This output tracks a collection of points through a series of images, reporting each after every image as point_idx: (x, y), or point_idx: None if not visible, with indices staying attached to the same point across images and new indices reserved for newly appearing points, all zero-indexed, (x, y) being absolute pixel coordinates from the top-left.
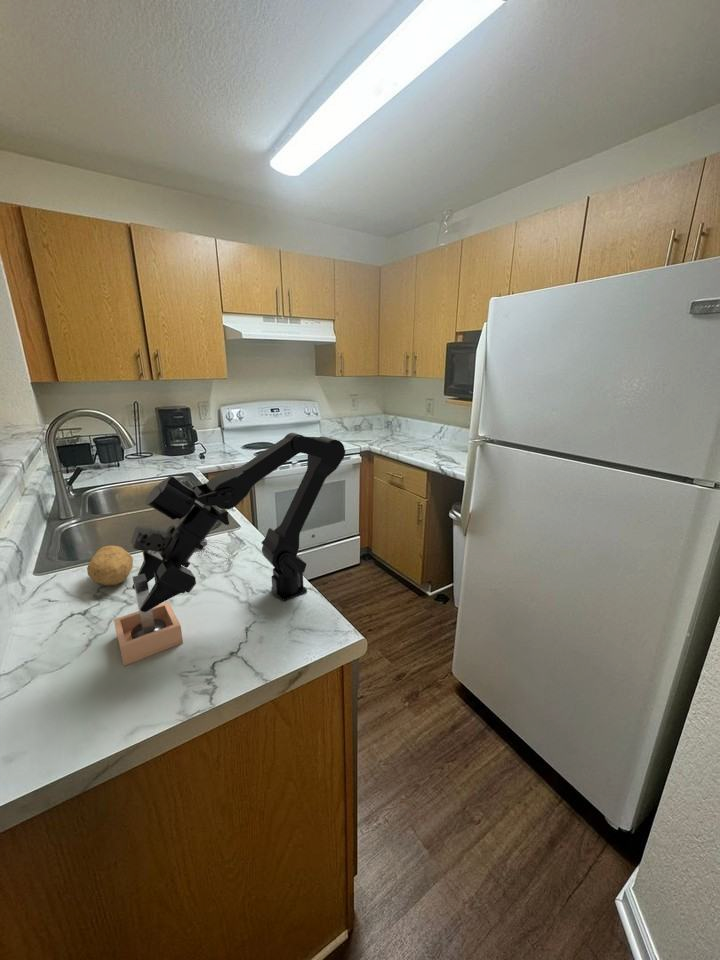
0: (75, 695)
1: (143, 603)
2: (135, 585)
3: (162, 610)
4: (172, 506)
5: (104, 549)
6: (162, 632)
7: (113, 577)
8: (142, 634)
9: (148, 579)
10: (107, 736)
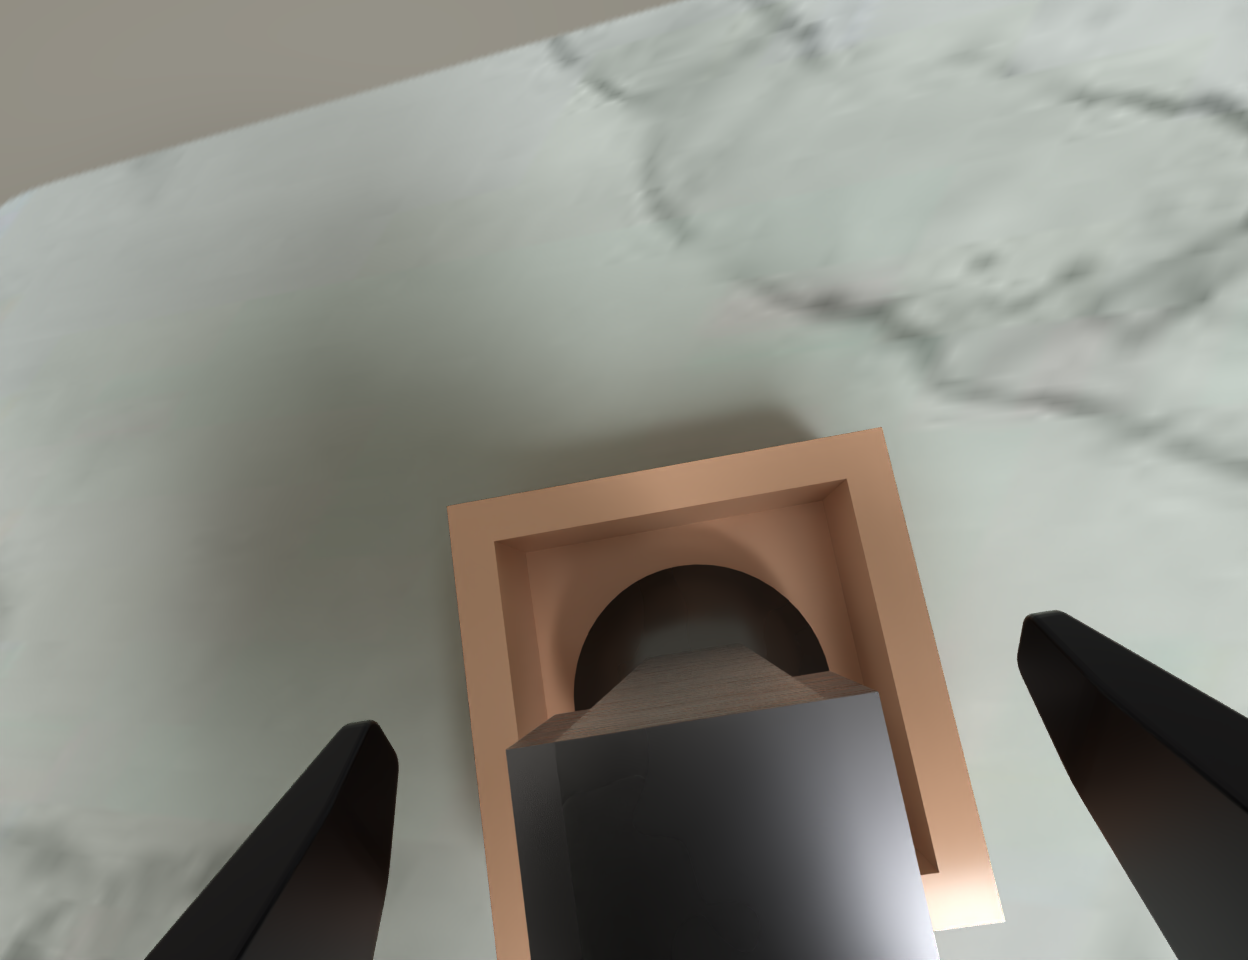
0: (385, 316)
1: (320, 789)
2: (520, 742)
3: (918, 828)
4: None
5: None
6: (485, 818)
7: None
8: (639, 647)
9: (1153, 883)
10: (34, 488)
